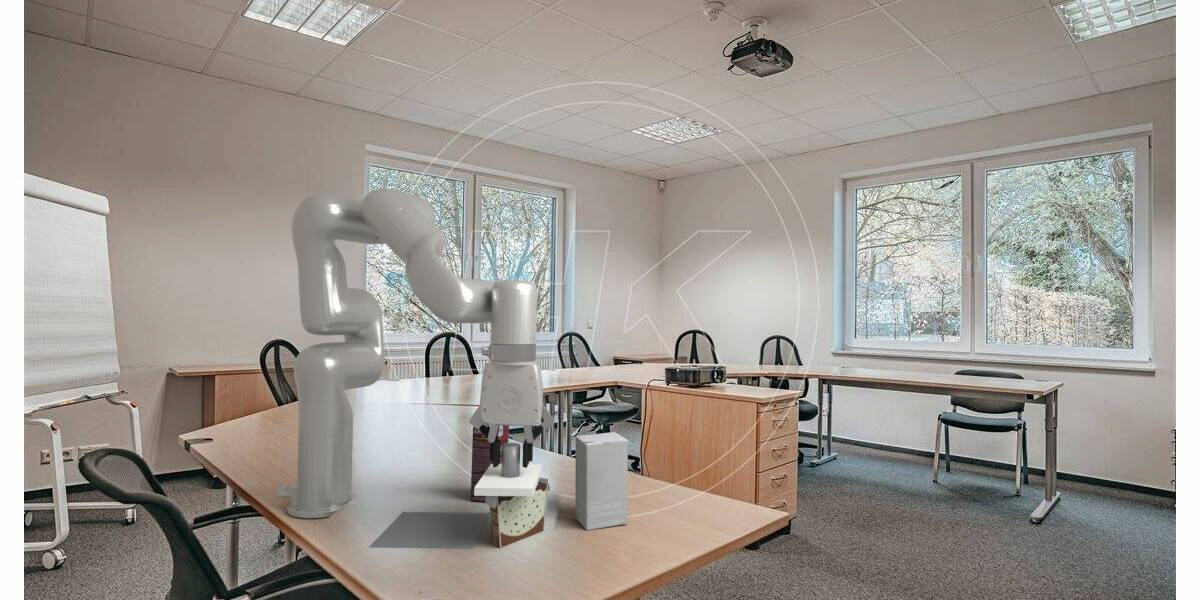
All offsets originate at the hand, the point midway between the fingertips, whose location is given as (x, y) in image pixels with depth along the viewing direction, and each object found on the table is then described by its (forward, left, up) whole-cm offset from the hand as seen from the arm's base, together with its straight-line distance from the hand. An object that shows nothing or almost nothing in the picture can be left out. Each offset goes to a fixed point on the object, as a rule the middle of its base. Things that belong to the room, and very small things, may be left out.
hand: (511, 464), depth 98 cm
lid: (0, 0, -3) cm, 3 cm away
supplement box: (-7, +20, -13) cm, 25 cm away
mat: (-13, +2, -13) cm, 19 cm away
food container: (0, 0, -13) cm, 13 cm away
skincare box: (+15, +10, -13) cm, 22 cm away
